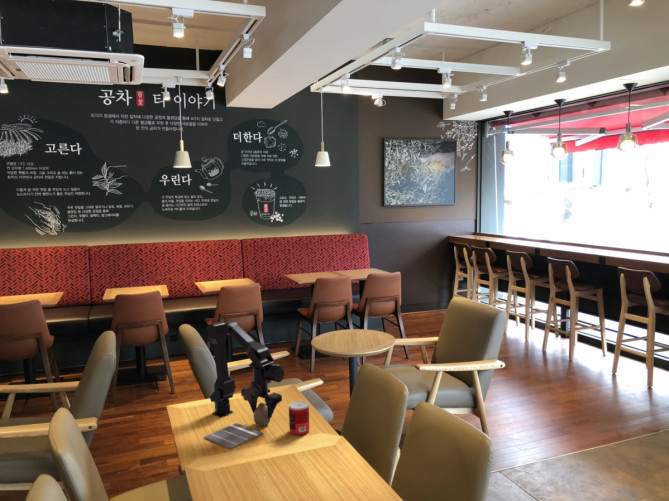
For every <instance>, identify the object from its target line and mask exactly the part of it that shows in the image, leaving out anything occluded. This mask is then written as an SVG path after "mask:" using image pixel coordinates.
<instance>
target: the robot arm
mask: <svg viewBox="0 0 669 501" xmlns="http://www.w3.org/2000/svg"><path fill="white" fill-rule="evenodd" d="M206 332H207V334H206V335H207V338H208V340H209V341H210V343H211V344H212V346H213V347H212V348H213V353H214V354H213V355H214V361H215V362H214V363H215V370H216V379H215V382H214V391H213V392H212V393H211V394H210V396H209V400H210V402H211V403H214V411H213V412H211V414H212V415H214V416H216V417H217V416H218V417H220V418H223V417H225V416H228V415H231V414H232V413H233V410H231V404H230V399H231V398H232V399H233V397H234V393H235V391H236V389H237V387H236V383H235V382H236V381H235V379H234V378H233V379H232V377H231V376H230V374H229V372H230V371H229V366H228V359H227V358H228V357H227V351H226V340H227V338H228V335H229V336H230V337H231V338H233V339H234V340H235V341H236V342H237V344H239V345H240V346H241V347H242V348H243V349H244V350H245V351H246V355H247V357H248V359H249V360H250V361H251V362H250V363H249V364H248V366H249V367H251V368H252V376H253V380H251V382H250V385H249V386H245V387H243V388H242V389H241V391H240V396H242V398H243V400H244V401H247V402H248V405H249V407H250V409H251V411H252V412H251V413H253V414H254V411H255V410H256V408H257V407H258V399H259V398H262V399H264V402H265V403H264V404H265V406H266V407H267V410H268V418H269V419H270V418H272V417H273V414H274V412H275V409H276V407H277V406H278V404H280V403H281V402H283V396H282V394H281V393H277V392H272V393H271V389H270V388H269V384H270V383H271V382H275V383H281V382H282V381H283V379H284V377H285V371H284V369H283V368H282V367H281V364H278V363H277V364H275V363H276V361H275V359H274V357H273V355H272V354H271V352H270V350H269V348H268V347H267V346H265V345H264V344H263V343H260V342H257V341H256V340H254V339H253V338H252V337H251V336H250V335H249V334H248V333H247V332H246V331H245V330H244V329H243V328H241V326H239V325H238V322H237V321H228V322H225V321H218V322H214V323H210V324H209V325H208V326H207V327H206ZM270 420H271V419H270Z"/></svg>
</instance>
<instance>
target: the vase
mask: <svg viewBox="0 0 669 501" xmlns="http://www.w3.org/2000/svg"><path fill="white" fill-rule="evenodd" d="M265 404H266V403H264V402H260V403H258V404H257V407H256V410H255V411H254V413H253V421H254V424H255V425H256V426H257V427H261V428H262V427H266V426H268V425H269V423H270V422H271V418H272V417H271V418H270V419H269V418H268V410H267V406H266V405H265Z"/></svg>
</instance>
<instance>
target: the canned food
mask: <svg viewBox="0 0 669 501" xmlns="http://www.w3.org/2000/svg"><path fill="white" fill-rule="evenodd" d="M288 422H289V426H288V427H289V433H290V435H293V436H295V437H301V436H305V435H307V434H308V433H309V432H310V406H309V402H307V401H303V400H300V401H299V400H298V401H294V402H290V404H289V405H288Z"/></svg>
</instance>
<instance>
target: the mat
mask: <svg viewBox="0 0 669 501" xmlns="http://www.w3.org/2000/svg"><path fill="white" fill-rule="evenodd" d="M262 435H264V432H262V431H259V430H257V429H254V428H251V427H249V426H246V425H243V424H241V423H238V422H236V423H233V424H230V425H228V426H225V427H224V428H221V429H219V430H216V431H214V432H211V433H209V434H207V435H205V436H203V438H204V439H205V440H208V441H210V442H212V443H215V444H217V445H219V446H222V447H224V448H227V449H230V450H233V449H235V448H237V447H239V446H241V445H243V444H247V443H248V442H250V441H251V440H254V439H257V438H259V437H260V436H262Z"/></svg>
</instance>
